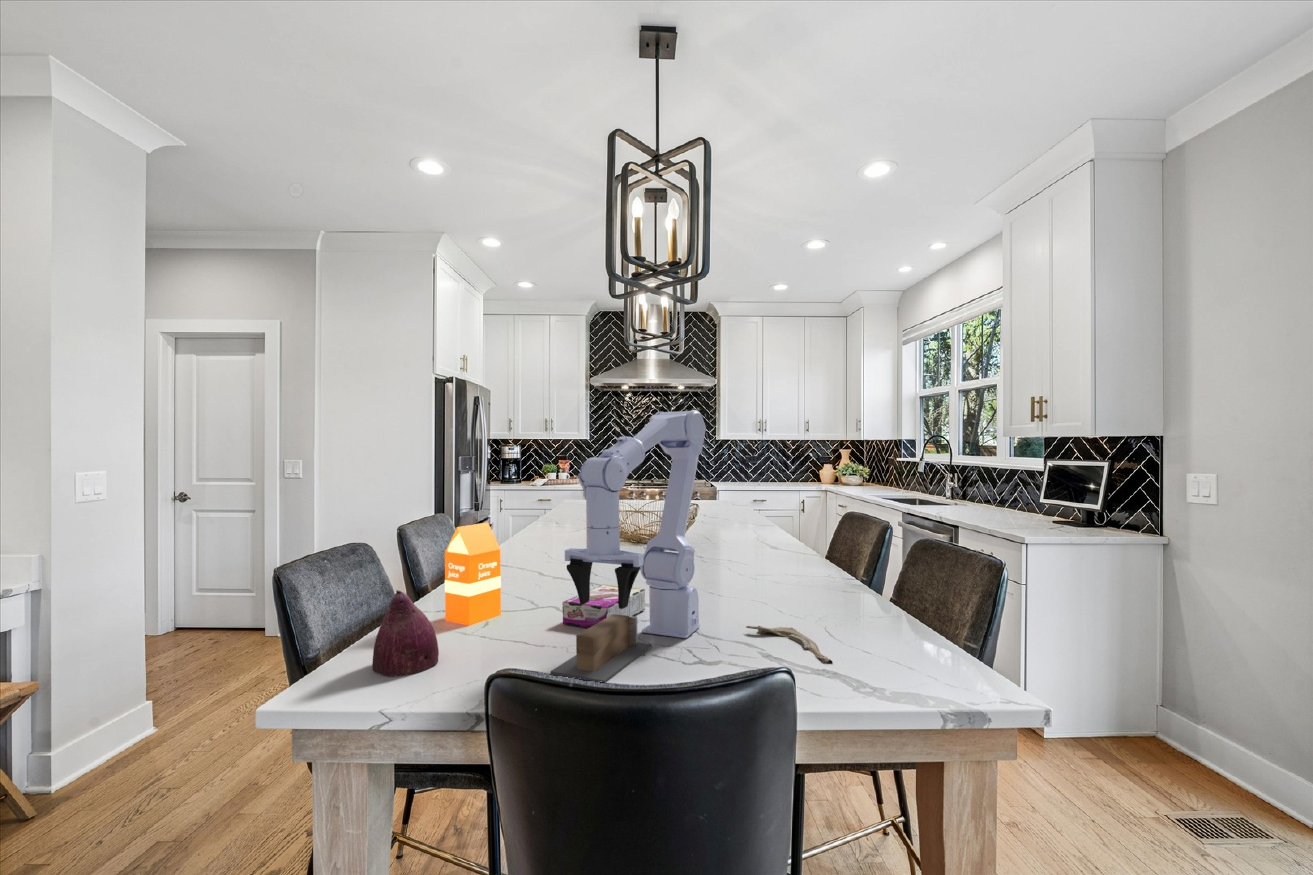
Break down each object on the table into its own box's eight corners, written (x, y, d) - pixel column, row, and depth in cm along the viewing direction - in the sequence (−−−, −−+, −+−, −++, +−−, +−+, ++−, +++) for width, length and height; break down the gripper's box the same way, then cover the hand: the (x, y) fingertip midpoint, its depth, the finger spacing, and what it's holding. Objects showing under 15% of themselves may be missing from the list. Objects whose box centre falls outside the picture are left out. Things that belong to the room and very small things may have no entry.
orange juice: (444, 620, 127) (443, 526, 128) (477, 609, 135) (476, 521, 135) (469, 625, 123) (469, 528, 123) (501, 615, 131) (501, 523, 131)
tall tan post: (601, 672, 97) (600, 638, 97) (569, 667, 99) (568, 634, 99) (637, 646, 109) (637, 615, 109) (608, 641, 112) (608, 612, 112)
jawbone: (777, 629, 122) (777, 619, 122) (863, 660, 106) (863, 649, 106) (744, 634, 117) (745, 624, 117) (829, 668, 100) (830, 655, 100)
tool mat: (651, 646, 110) (651, 644, 110) (604, 683, 94) (604, 680, 94) (603, 639, 114) (603, 637, 114) (550, 673, 98) (550, 671, 98)
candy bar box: (561, 600, 124) (602, 583, 138) (561, 624, 123) (602, 605, 138) (608, 606, 119) (645, 588, 134) (608, 631, 119) (645, 610, 133)
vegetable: (416, 696, 97) (412, 614, 93) (359, 683, 99) (353, 603, 95) (451, 658, 107) (449, 582, 103) (399, 647, 109) (395, 572, 105)
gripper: (554, 527, 103) (555, 606, 103) (630, 532, 97) (631, 615, 97) (576, 522, 110) (576, 596, 110) (648, 526, 104) (649, 604, 104)
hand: (603, 604), depth 104 cm, fingers open, 7 cm apart
